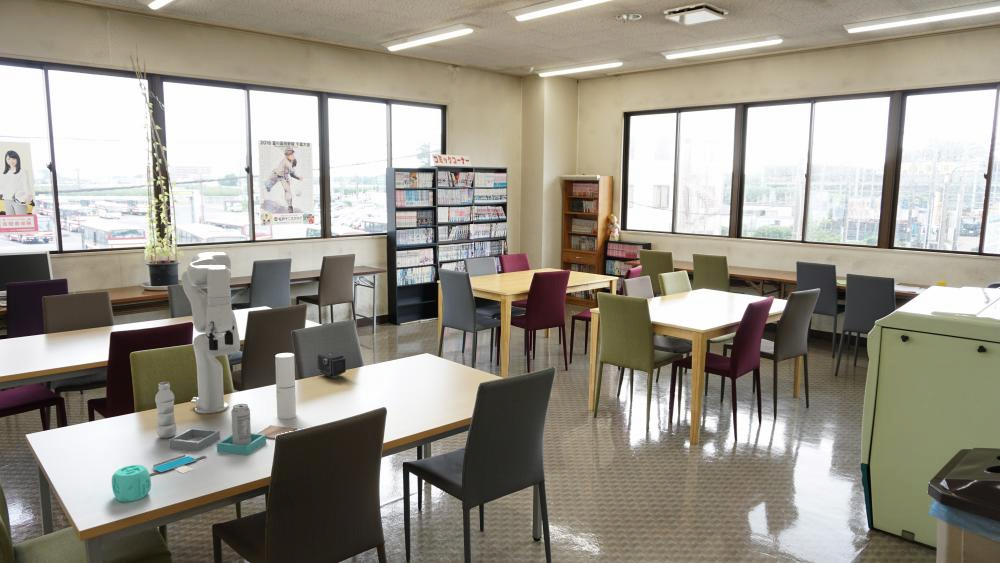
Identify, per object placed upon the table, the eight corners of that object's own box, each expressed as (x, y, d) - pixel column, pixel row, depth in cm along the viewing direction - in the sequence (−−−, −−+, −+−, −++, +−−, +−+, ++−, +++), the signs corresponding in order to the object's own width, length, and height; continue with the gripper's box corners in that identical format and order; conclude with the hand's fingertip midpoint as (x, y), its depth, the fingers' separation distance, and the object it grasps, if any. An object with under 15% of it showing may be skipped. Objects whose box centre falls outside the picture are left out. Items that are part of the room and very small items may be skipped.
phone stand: (157, 484, 205) (156, 479, 204) (137, 474, 212) (137, 469, 211) (217, 463, 221) (216, 458, 221) (197, 454, 228) (196, 449, 227)
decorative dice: (122, 505, 190) (120, 478, 189) (112, 496, 195) (110, 470, 194) (151, 495, 196) (150, 469, 195) (141, 487, 201) (139, 462, 200)
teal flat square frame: (217, 451, 229) (216, 443, 229) (237, 439, 240) (237, 431, 240) (247, 455, 226) (246, 446, 226) (266, 442, 238) (265, 434, 237)
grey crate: (169, 447, 232) (169, 439, 231) (191, 436, 243) (191, 428, 243) (198, 451, 229) (198, 442, 229) (219, 439, 241) (219, 431, 240)
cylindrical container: (290, 419, 261) (288, 357, 258) (273, 418, 263) (271, 356, 260) (299, 413, 268) (297, 353, 265) (283, 412, 270) (281, 352, 266)
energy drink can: (246, 442, 238) (245, 402, 236) (254, 447, 233) (252, 406, 231) (230, 447, 233) (228, 405, 231) (237, 451, 229) (235, 409, 227)
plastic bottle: (157, 441, 238) (153, 387, 235) (157, 435, 244) (153, 382, 241) (177, 438, 241) (174, 384, 238) (176, 432, 247) (173, 379, 244)
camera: (315, 377, 324) (331, 381, 313) (313, 354, 323) (329, 357, 312) (334, 373, 331) (350, 376, 321) (332, 351, 331) (349, 353, 320)
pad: (253, 437, 243) (253, 435, 243) (270, 426, 253) (270, 425, 253) (281, 439, 240) (281, 438, 240) (296, 429, 251) (296, 427, 251)
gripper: (223, 297, 251) (225, 342, 253) (195, 304, 234) (197, 352, 236) (241, 298, 250) (243, 342, 252) (214, 304, 233) (217, 352, 235)
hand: (221, 347), depth 244 cm, fingers open, 9 cm apart
